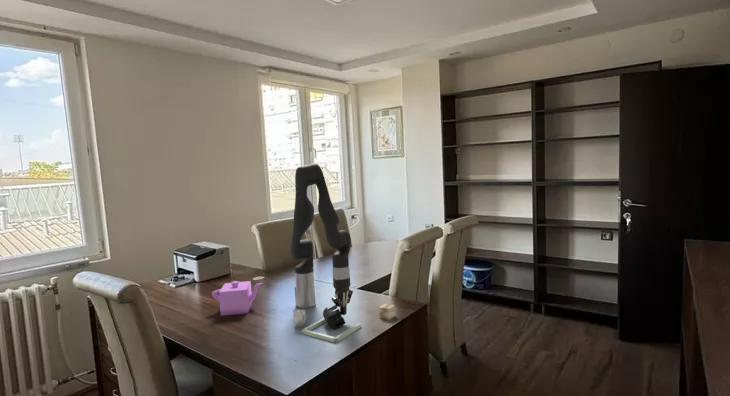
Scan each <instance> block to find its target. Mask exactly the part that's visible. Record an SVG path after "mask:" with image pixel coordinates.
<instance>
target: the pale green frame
mask: <svg viewBox="0 0 730 396" xmlns="http://www.w3.org/2000/svg"><path fill="white" fill-rule="evenodd" d="M325 323H326V321H325V319H324V317H323V318H321V319H320V320H317V321H316V322H314V323H312V324H310V325H308V326H306V327H304V328H301V334H303V335H306V336H310V337H314V338H317V339H321V340H324V341H328V342H332V343H334V344H336V343H338V342H340V341H341V340H343V339H344V338H347V336H349V335H351V334H352V333H354V332H356V331H357V330H359V329H360V328H362V323H360V322H359V323H356V324H355V325H353V326H351V327H350V328H348V329H346V330H345V331H343V332H342V333H340V334H338V335H336V336H332V335H328V334H324V333H320V332H317V331H314V329H316V328H318V327H320V326H321V325H323V324H325ZM312 330H313V331H312Z"/></svg>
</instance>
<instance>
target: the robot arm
mask: <svg viewBox="0 0 730 396" xmlns="http://www.w3.org/2000/svg"><path fill="white" fill-rule="evenodd" d="M294 180H295V181H294V182H295V184H294V185H295V198H294V200H295V202H294V210H293V224H292V225H293V226H292V235H291V240H290V241H291V242H290V248H289V249H290V256H291V258H292V259H293V260H302V259H303V261H302V262H300V263H299V264H297V265H296V266H295V267H294V275H295V276H294V278H295V279H294V280H295V286H294V301H295V306H297V308H298V309H310V308H312V307H315V306H316V290H315V289H316V288H315V285H316V284H315V272H314V270H315V269H314V244H313V241H312V240H311V239H310V238H309V239H307V238H306V239H302V238H303V236H304V235H305V233H306V232H307V231H309V229H310V227H311V226H312V224H313V222H314V218H315V217H314V215H315V206H314V205H313V203H312V201H311V200H310V199H309V197H308V188H309V187H310V186H313V185H315V186H316V188H317V191H318V192H317V193H318V204H317V210H318V215H319V216H320V220H321V221H322V224H323V227H324V232H325V236H326V241H327V243H328V245H329V246H330V248H332V249H336V251H335V252H334V253H333V254H332V257H331V259H332V285H333V286H332V287H333V288H334V296H333V297H331V301H332V302H333V304H334V305H336V306H337V308H339V310H340V312H341V314H342V315H341V316H346V315H347V311H348V310H347V306H348V304H350V302H351V299H352V296H353V294H354V290H352V289H351V288H350V287H351V273H350V272H351V270H350V263H349V255H350V251H351V250H350V249H351V244H352V243H351V241H352V239H351V234H350V233H349V232H348V231H347V230H345V229H341V230H338V225H339V224H340V219H339V216H338V214H337V212H336V210H335V207H334V204H333V202H332V200H331V197H330V193H329V190H328V185H327V182H326V178H325V175H324V172H323V170H322V168H321V166H320V165H319V164H318V163H309V164H305V165H300V166H298V167H297V169H296V170H295V174H294Z"/></svg>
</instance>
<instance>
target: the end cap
mask: <svg viewBox="0 0 730 396" xmlns="http://www.w3.org/2000/svg"><path fill="white" fill-rule="evenodd" d="M322 316H323V318H324V319H325V321H326V322H325V323H326V325H327V327H329V328H331V329H339V328H340V327H342V326H344V325H345V324H346V320H345V319H344V317H343V315H342V314H341V312H340V308H338V307H337V306H336V305H335V304H334V305H332V306H331V307H329V308H328V307H325V308H324V309H323V311H322Z"/></svg>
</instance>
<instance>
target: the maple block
mask: <svg viewBox="0 0 730 396" xmlns="http://www.w3.org/2000/svg"><path fill="white" fill-rule="evenodd" d="M378 312H379V319H383V320H391V319H392V318H394V317H395V314H396V313H395V304H389V303H384V304H382V305H381V306H379V307H378Z"/></svg>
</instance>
